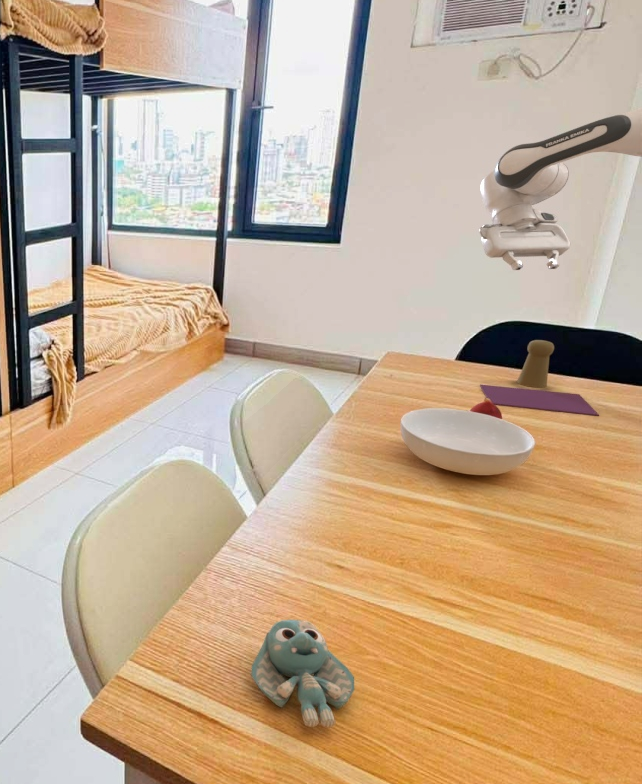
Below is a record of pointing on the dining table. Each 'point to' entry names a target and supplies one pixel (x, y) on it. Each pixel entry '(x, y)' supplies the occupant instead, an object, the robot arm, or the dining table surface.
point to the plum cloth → (538, 399)
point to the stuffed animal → (302, 671)
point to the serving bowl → (466, 441)
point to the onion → (487, 409)
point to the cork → (536, 364)
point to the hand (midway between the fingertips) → (536, 268)
